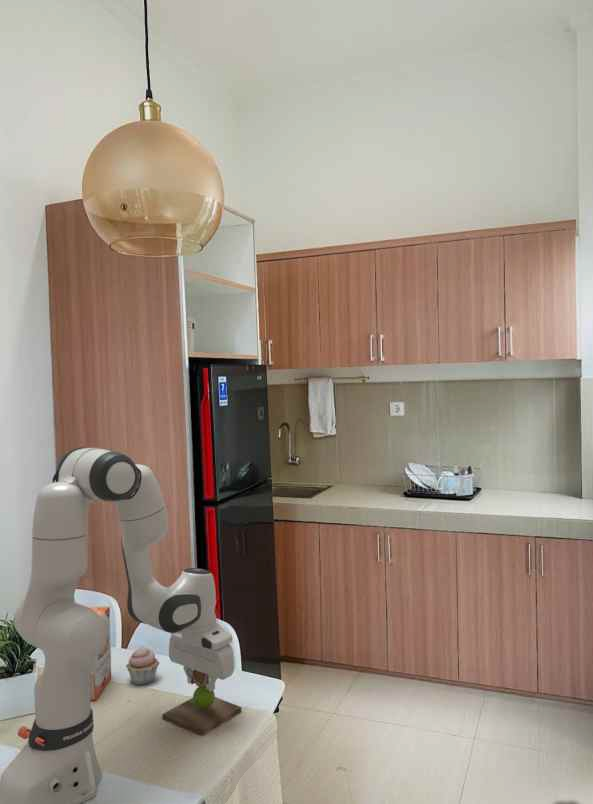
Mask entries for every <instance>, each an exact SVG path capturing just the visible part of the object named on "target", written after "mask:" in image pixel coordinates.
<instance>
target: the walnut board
mask: <svg viewBox="0 0 593 804" xmlns="http://www.w3.org/2000/svg"><path fill="white" fill-rule="evenodd" d="M240 713H242V706H239V705H237V704H234V703H233V702H232V703H231V702H229V701H227V700H224V699H221V698H220V697H216V696H215V699H214V702H213V704H212V705H211V706H210V707H208V708H205V709H201V708H199V707H197V706H196V705H195V703H194V701H193V697H191V698H189V699H187V700H186V701H184V702H182V703H180V704H179V705H176V706H175V707H173V708H171V709H169V710H167V711H166V712H164V713H162V720H164V721H165V722H168V723H171V724H173V725H174V726H176V727H178V728H181V729H184V730H186V731H189V732H190V733H193V734H195V735H197V736H200V737H203V736H204V735H207V734H208V733H210V732H212V731H213V730H215V729H216V728H218V727H219V726H221V725H222V724H224V723H226V722H228V721H229V720H230V719H232V718H234V717H235V716H237V715H238V714H240ZM206 733H207V734H206Z"/></svg>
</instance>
